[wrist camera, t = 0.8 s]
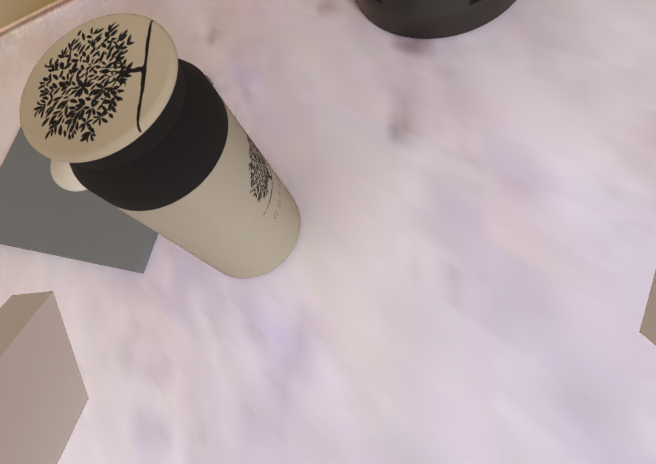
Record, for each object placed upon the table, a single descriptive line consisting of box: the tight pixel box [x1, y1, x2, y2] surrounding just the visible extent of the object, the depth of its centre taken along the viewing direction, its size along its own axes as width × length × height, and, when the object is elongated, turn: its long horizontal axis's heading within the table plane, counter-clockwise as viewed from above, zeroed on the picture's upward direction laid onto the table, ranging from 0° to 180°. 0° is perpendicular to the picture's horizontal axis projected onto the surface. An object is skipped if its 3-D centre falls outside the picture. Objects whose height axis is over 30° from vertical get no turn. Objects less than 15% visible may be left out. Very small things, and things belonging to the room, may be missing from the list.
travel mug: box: [20, 14, 300, 278], centre depth 28 cm, size 8×8×18 cm
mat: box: [0, 76, 213, 273], centre depth 42 cm, size 18×18×1 cm
